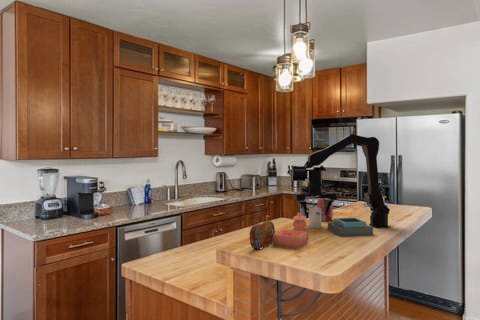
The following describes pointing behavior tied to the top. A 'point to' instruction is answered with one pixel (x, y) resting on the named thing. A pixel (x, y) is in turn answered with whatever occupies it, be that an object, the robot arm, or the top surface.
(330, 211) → the soda can
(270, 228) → the brown rounded slab
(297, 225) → the pottery
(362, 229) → the teal-collared square flange
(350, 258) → the top surface
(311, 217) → the grey rounded block
